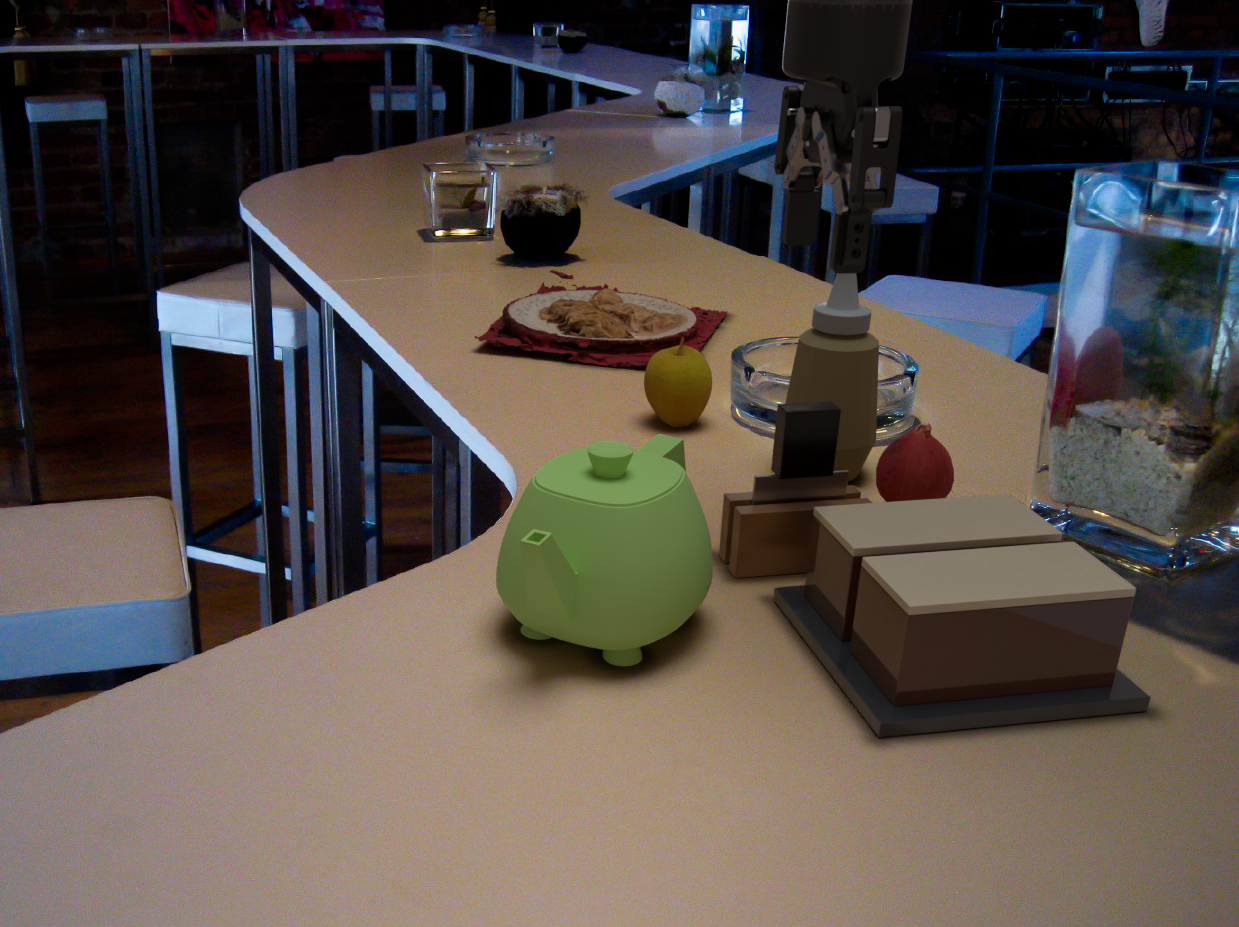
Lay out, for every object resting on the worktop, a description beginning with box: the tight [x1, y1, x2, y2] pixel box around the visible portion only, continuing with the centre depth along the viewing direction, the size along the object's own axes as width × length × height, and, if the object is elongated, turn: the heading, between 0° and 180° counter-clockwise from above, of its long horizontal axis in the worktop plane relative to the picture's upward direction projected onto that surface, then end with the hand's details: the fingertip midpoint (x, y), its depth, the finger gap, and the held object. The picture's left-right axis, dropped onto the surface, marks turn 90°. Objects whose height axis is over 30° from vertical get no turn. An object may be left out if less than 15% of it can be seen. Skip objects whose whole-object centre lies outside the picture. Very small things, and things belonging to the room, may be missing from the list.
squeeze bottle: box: [784, 273, 880, 482], centre depth 105 cm, size 8×8×18 cm
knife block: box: [718, 484, 873, 579], centre depth 92 cm, size 10×4×5 cm, turn 100°
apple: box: [643, 337, 713, 428], centre depth 118 cm, size 6×6×8 cm
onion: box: [875, 422, 955, 502], centre depth 98 cm, size 6×6×8 cm
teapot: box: [495, 433, 714, 667], centre depth 81 cm, size 20×13×13 cm
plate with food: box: [474, 269, 728, 368], centre depth 146 cm, size 24×26×4 cm
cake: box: [773, 493, 1151, 738], centre depth 79 cm, size 17×17×8 cm
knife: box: [752, 401, 849, 505], centre depth 90 cm, size 7×2×12 cm, turn 100°
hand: (821, 257), depth 85 cm, fingers open, 8 cm apart
